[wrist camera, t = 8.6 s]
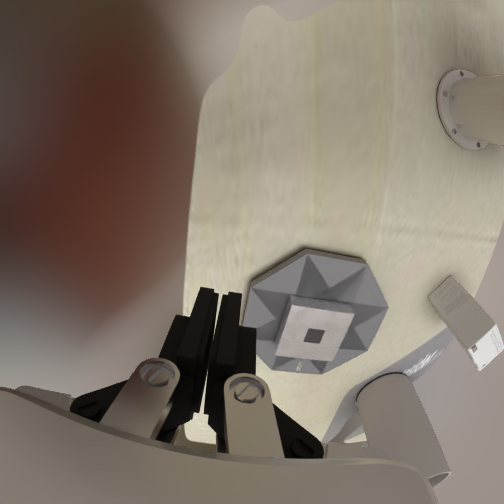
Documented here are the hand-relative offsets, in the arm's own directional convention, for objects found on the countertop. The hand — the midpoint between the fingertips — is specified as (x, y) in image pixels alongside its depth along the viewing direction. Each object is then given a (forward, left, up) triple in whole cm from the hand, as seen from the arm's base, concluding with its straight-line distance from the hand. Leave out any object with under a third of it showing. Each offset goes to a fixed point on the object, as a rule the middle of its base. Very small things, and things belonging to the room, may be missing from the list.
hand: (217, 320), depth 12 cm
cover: (-13, +17, -24) cm, 32 cm away
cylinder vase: (-36, +34, -27) cm, 56 cm away
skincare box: (-38, +10, -27) cm, 47 cm away
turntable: (-14, +16, -25) cm, 33 cm away
